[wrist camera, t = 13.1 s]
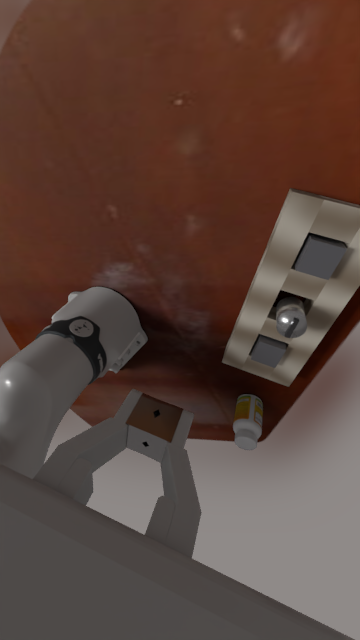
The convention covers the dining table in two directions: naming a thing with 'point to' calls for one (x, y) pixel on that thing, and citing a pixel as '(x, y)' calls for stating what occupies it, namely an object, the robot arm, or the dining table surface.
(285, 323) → the steel dial
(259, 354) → the inner button
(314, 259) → the outer button
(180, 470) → the robot arm
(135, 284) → the dining table surface
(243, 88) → the dining table surface
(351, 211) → the mount
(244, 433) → the supplement bottle
